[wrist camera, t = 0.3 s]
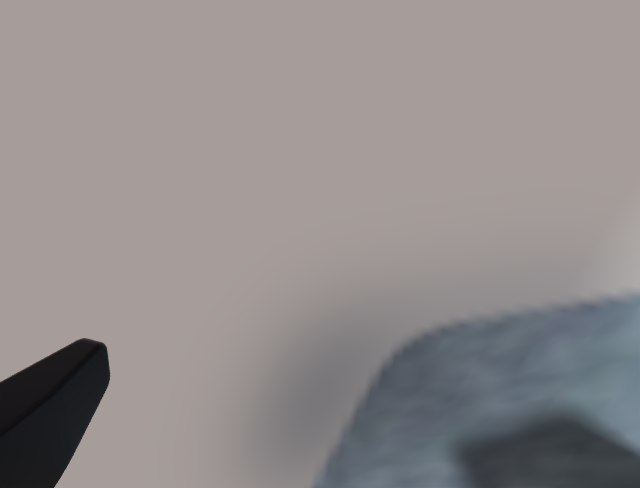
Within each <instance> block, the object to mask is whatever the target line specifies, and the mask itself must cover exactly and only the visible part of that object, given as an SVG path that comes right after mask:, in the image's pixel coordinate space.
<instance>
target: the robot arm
mask: <svg viewBox="0 0 640 488" xmlns="http://www.w3.org/2000/svg"><path fill="white" fill-rule="evenodd" d="M109 380H110V369H109V360H108V353H107V347H106V346H105V344H104V343H102V342H98V341H94V340H91V339H86V338H83V339H80V340H77V341H75V342H73V343H71V344H70V345H68V346H66V347H64V348H62V349H60V350H58V351H57V352H55V353H53V354H51V355H49V356H47V357H46V358H44V359H42V360H40V361H38V362H36V363H34V364H33V365H31V366H29V367H27V368H26V369H23V370H22V371H20V372H18V373H16V374H14V375H12V376H11V377H9V378H7V379H5V380H3V381H1V382H0V488H54V487H55V485H56V484H57V482H58V481H59V479H60V478H61V476H62V474H63V473H64V471H65V469H66V468H67V466H68V464H69V462H70V460H71V458H72V456H73V455H74V453H75V451H76V449H77V447H78V445H79V443H80V441H81V439H82V437H83V435H84V433H85V431H86V429H87V427H88V425H89V423H90V421H91V419H92V417H93V415H94V413H95V411H96V409H97V407H98V405H99V403H100V401H101V399H102V397H103V395H104V393H105V391H106V389H107V387H108V384H109Z"/></svg>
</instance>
